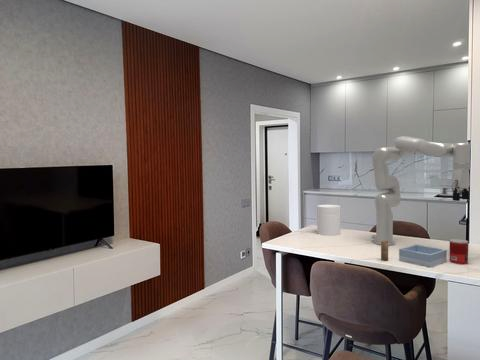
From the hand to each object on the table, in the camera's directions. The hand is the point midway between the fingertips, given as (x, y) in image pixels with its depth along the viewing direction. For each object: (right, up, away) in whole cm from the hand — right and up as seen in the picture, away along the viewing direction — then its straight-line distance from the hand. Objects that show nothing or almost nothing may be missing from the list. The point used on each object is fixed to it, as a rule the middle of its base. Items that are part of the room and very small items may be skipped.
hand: (460, 199), depth 185 cm
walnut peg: (-39, -31, +1) cm, 50 cm away
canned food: (-4, -31, -5) cm, 32 cm away
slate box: (-21, -31, -2) cm, 38 cm away
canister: (-51, -28, +72) cm, 93 cm away
